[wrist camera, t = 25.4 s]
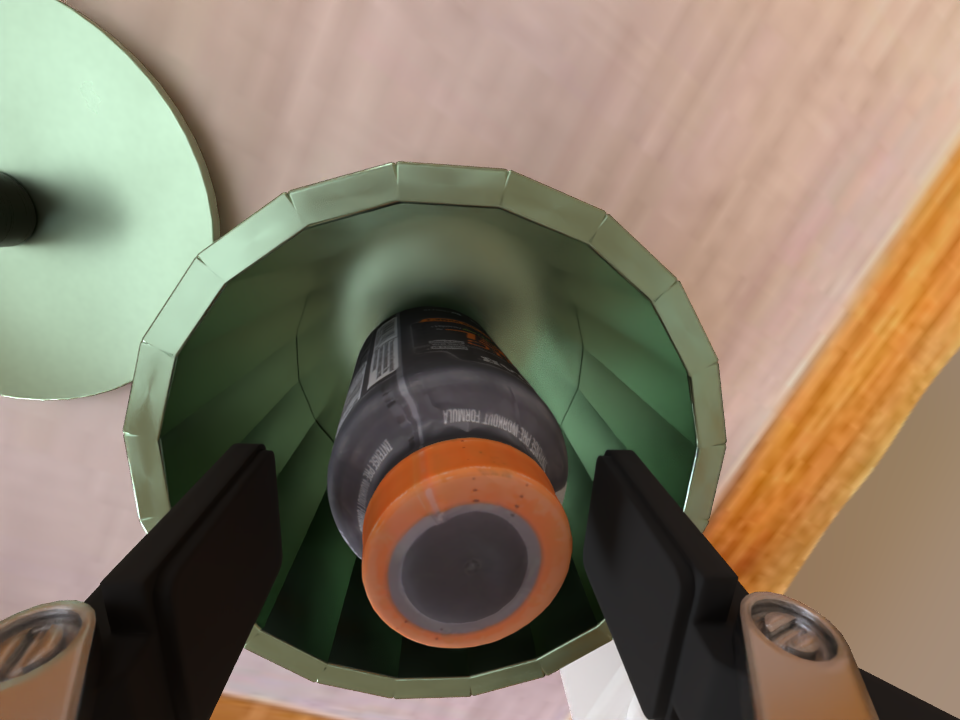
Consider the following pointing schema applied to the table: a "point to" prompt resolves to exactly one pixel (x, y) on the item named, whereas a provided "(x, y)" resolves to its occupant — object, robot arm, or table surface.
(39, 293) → the lid
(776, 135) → the table surface
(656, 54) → the table surface
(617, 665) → the medicine bottle
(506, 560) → the pill bottle
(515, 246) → the tin
